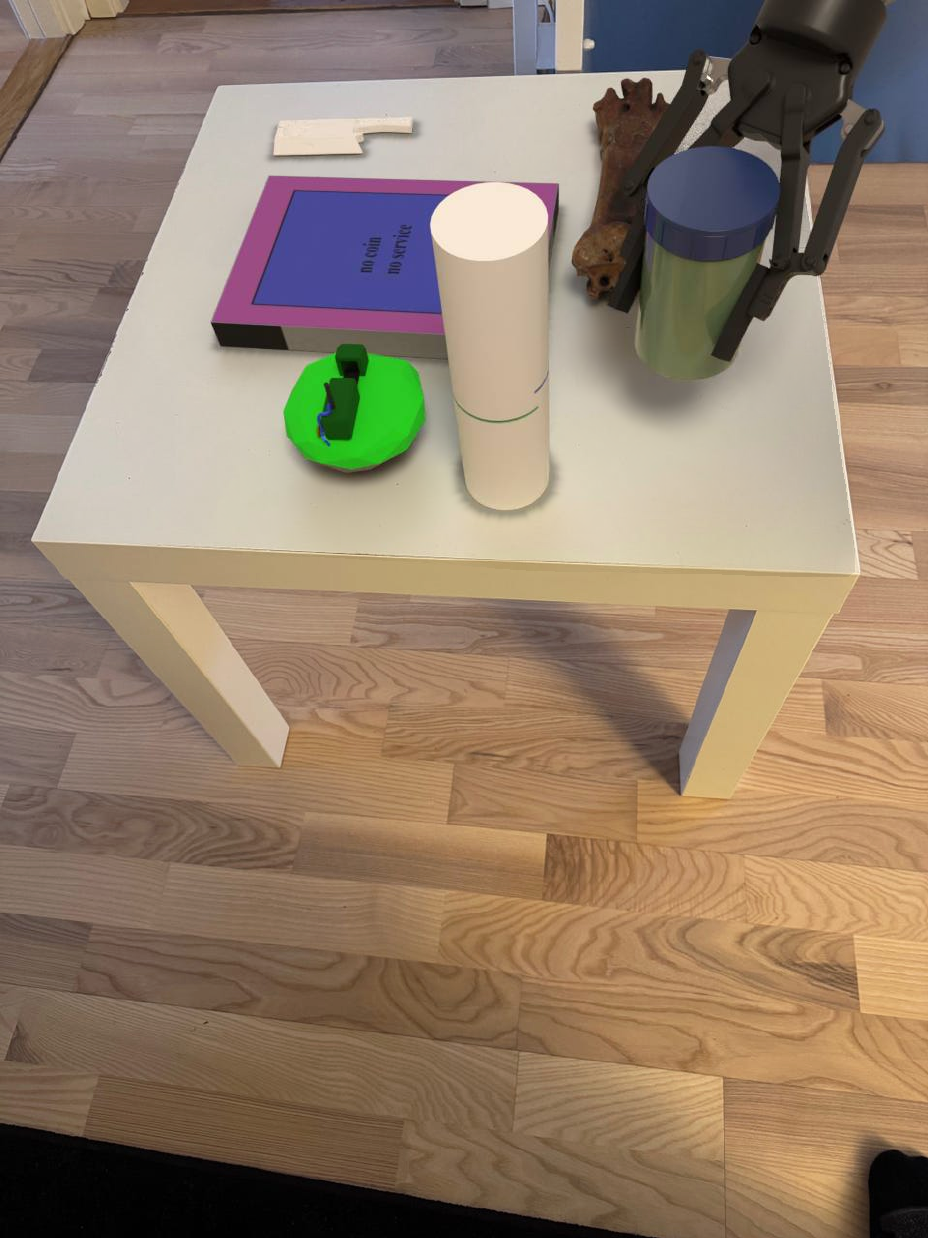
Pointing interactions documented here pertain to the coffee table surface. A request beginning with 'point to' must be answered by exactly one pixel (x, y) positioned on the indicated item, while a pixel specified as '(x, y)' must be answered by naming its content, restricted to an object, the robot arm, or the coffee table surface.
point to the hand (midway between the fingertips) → (667, 333)
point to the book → (344, 266)
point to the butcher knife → (332, 134)
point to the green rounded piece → (355, 409)
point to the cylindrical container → (497, 336)
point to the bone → (616, 180)
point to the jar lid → (711, 203)
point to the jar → (687, 310)
